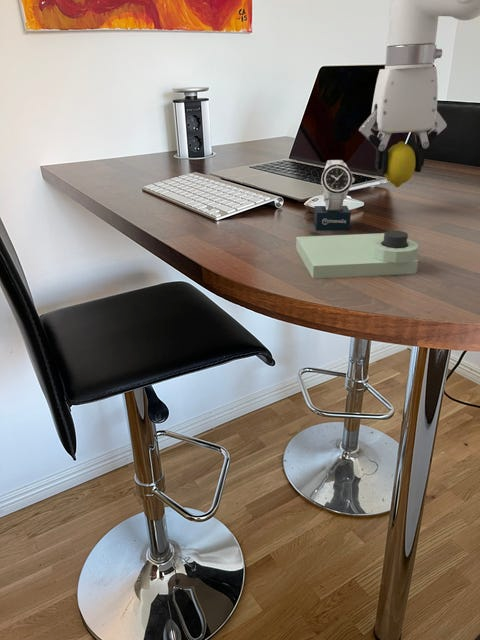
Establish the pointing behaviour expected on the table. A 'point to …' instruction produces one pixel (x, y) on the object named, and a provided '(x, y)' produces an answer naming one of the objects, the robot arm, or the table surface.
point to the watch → (334, 198)
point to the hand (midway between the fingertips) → (398, 170)
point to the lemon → (400, 164)
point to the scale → (355, 256)
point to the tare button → (395, 239)
